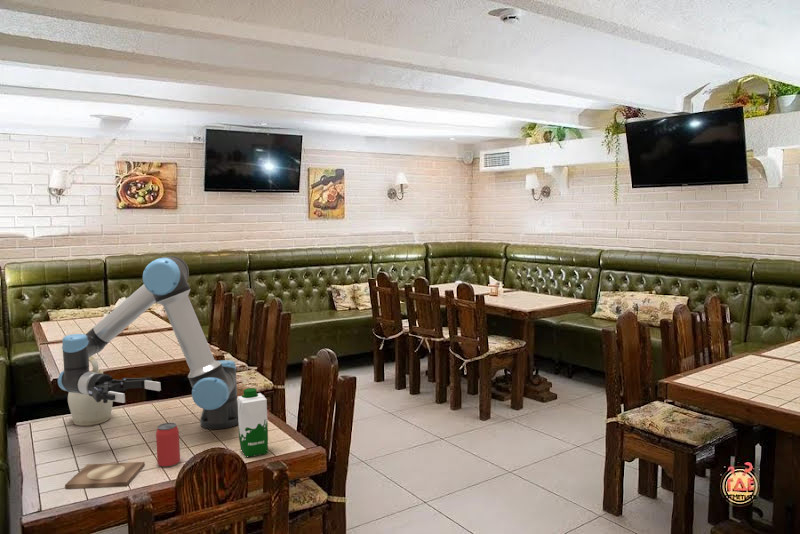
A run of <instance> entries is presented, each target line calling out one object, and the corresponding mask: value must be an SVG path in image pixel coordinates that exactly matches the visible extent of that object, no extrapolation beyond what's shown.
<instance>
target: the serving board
mask: <svg viewBox="0 0 800 534" xmlns="http://www.w3.org/2000/svg"><path fill="white" fill-rule="evenodd" d="M143 468H145V461H138V462H137V461H136V462H133V461H131V462H113V463H112V462H111V463H91V464H90V463H88V464H86V465H85V466H83V468H82V469H81V470H80V471H78V472H77V473H76V474H75V475H74V476H73V477H72V478H71V479H70V480H68V481H67V482H66V483H65V484H64V487H65V488H64V489H65V490H70V489H71V490H72V489H90V488H95V489H96V488H112V487H114V488H115V487H117V488H118V487H128V485H130V483H131V482H132V481H133V480H134V479H135V477H136V476H137V475H138V474H139V473H140V472H141V471H142V469H143ZM140 470H141V471H140Z"/></svg>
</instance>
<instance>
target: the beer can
mask: <svg viewBox="0 0 800 534" xmlns="http://www.w3.org/2000/svg"><path fill="white" fill-rule="evenodd" d="M179 430H180V429H179V428H178V426H177V423H176V422H165V423H160V424H159V425H158V426H157V430H156V432H155V443H156V445H155V446H156V461H157V465H158V466H159V467H162V468H169V467H173V466H176V465H178V464H179V463H180V461H181V451H180V450H181V448H180V431H179Z"/></svg>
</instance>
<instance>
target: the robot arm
mask: <svg viewBox="0 0 800 534" xmlns="http://www.w3.org/2000/svg"><path fill="white" fill-rule="evenodd" d="M189 270H190V269H189V266H188V264H187V263H186V261H184V260H183V259H182V258H180V257H178V256H173V255H169V256H165V257H159V258H156V259H154V260H152V261H151V262H149V263H148V264H147V265H146V267H145V268H144V270H143V273H142V282H143V284H142V285H141V286H140V287H139V288H138V289H136V290H135V291H133V293H131V294H130V295H129V296H128V297H127V298H125V300H124V301H122V303H120V304H119V305H118V306H116V307H115V308H114V309H113V310H112V311H111V312H109V313H108V314H107V315H106V316H105V317H103V318H102V320H100V321H99V322H98V323H97V324H96V325H95V326H93V327H92V328H91V329H90V330H88V332H86V333H75V334H74V333H73V334H68V335H65V336H63V338H62V346H61V350H62V358H63V361H62V362H63V370H62V371H61V372H60V373H59V375H58V377H57V385H58V387H59V388H60V389H61V390H62V391H64V392H65V391H66V392H68V393H69V392H72V393H80V394H86V395H89V396H91V397H93V398H94V399H95V401H96V402H100V401H101V400H103V403H107V402H108V400H109V401H113V402H116V403H122V404H124V403H126V395H125V393H123V392H124V391H126V390H131V389H143V388H144V389H146V390H149V391H150V390H151V391H156V392H160V391H162V388H161V387H162V386H161V382H160V381H153V380H152V378H151V377H147V376H146V377H122V378H121V379H116V378H115V379H114V377H112V376H111V375H110V374H107V373H103V374H102V373H98V372H97V373H96V372H92V371H90V361H89V357H91V356H92V357H93V356H94V355H96V354H98V353H101V351H102V350H103V349H104V348H105V347H106V346H107V345H108V344H109V343H110V342H111V341H112V340H113V339H114V338H116V337H117V336H118V335H119V334H121V333H122V332H123V331H124V330H125V329H126V328H127V327H129V326H130V325H131V324H132V323H134V322H135V321H136V320H137V319H138V318H139V317H140V316H141V315H142V314H144V313H145V312H146V311H147V310H148V309H150V307H152V306H153V305H154V304H155V303H156V304H158V305H161V306H162V307H163V309H164V311H165V313H166V316H167V318H168V321H169V323H170V325H171V328H172V331H173V332H174V336H175V337H176V340H177V342H178V345H179V347H180V349H181V352H182V354H183V357H184V358H185V361H186V364H187V366H188V368H189V373H188V375H187V378H188V381H189V383H190V386H191V388H192V389H191V397H192V400H193V402H194V404H195V405H196V406H197V407H199V408H201V409H202V411H201V415H200V418H199V419H200V420H199V423H200V426H201V427H202V428H204V429H208V430H223V429H228V427H229V428H232V426H233V427H235V425H236V426H239V424H238V386H237V385H238V384H237V382H238V381H237V365H236V364H237V363H236V362H235V361H234V360H229V359H228V360H227V359H224V360H223V359H222V360H216V359H215V357H214V355H213V352H212V350H211V347H210V345H209V343H208V340H207V339H206V336H205V333H204V331H203V329H202V325H201V324H200V321H199V319H198V316H197V314H196V312H195V310H194V309H195V308H194V307H193V304H192V302H191V300H190V297H189V294H190V292H191V287H190V285H189V282H188V280H189V276H190V272H189Z"/></svg>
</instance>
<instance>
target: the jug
mask: <svg viewBox="0 0 800 534" xmlns="http://www.w3.org/2000/svg"><path fill="white" fill-rule="evenodd" d="M89 363H90V364H91V366H92V370H91V372H96V373H102V374H104V370H103V369H99V367H100V366H99V363H98V360H97V359H96V358H95V357H94V356H93V355H92V356H91V357H89ZM113 402H114V401H109V400H108V402H107V403H103V400H101V401H100V402H96V401H95V399H94V398H93V397H91V396H89V395H86V394H80V393H72V392H68V394H67V403H68V408H69V411H70V415H71V419H72V421H73V424H74V425H76V426H81V427H85V426H87V427H88V426H95V425H100V424H102V423H104V422H107V421H108V420H110V418H111V415H112V410H113V405H114V404H113Z"/></svg>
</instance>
